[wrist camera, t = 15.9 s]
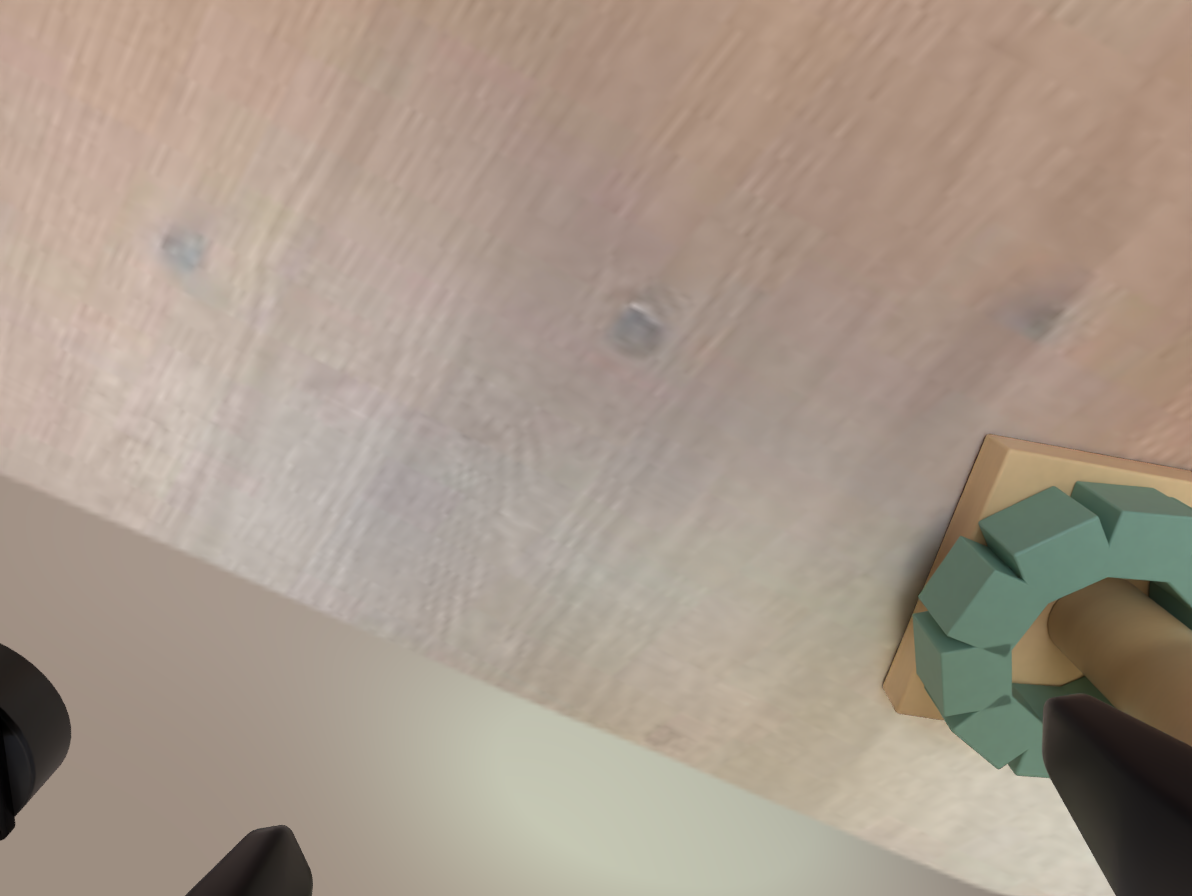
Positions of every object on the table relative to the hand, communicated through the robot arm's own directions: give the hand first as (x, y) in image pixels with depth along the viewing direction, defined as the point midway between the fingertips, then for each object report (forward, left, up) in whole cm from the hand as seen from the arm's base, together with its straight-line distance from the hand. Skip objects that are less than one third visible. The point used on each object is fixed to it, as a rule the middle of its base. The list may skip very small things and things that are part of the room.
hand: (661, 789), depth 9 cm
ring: (-3, -13, -11) cm, 17 cm away
